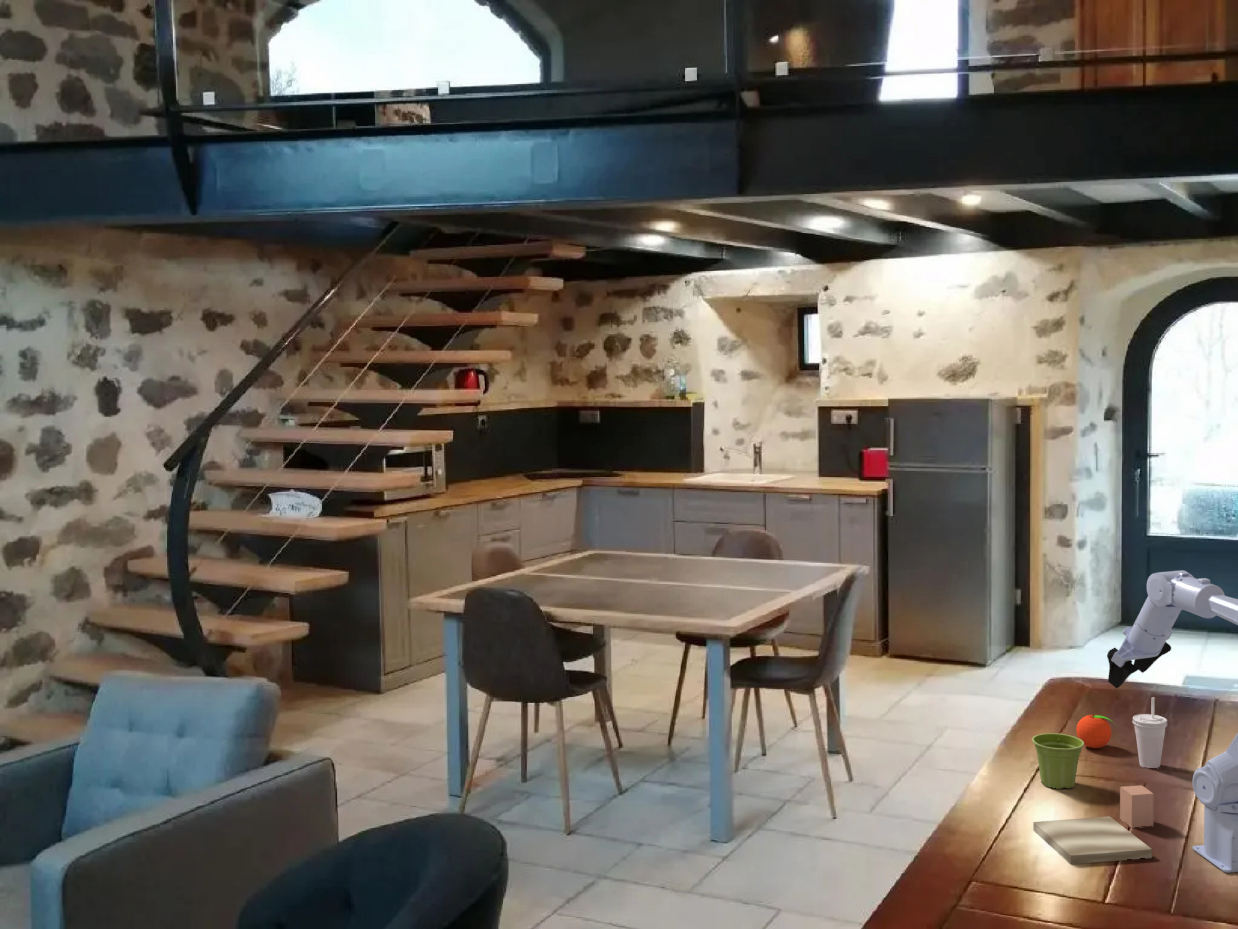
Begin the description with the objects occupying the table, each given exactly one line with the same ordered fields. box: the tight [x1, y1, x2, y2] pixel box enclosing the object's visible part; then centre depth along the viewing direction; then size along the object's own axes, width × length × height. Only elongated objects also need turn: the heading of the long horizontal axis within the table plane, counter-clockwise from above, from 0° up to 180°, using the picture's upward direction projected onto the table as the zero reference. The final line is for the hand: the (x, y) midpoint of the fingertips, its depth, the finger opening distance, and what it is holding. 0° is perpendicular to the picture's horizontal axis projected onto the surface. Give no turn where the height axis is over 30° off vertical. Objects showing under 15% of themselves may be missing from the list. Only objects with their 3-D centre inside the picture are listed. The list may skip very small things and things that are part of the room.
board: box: [1033, 816, 1153, 865], centre depth 200 cm, size 14×14×2 cm
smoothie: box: [1132, 696, 1168, 769], centre depth 235 cm, size 6×6×14 cm
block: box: [1119, 785, 1155, 829], centre depth 208 cm, size 4×4×6 cm
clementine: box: [1075, 714, 1118, 749], centre depth 247 cm, size 8×7×7 cm
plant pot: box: [1031, 732, 1085, 790], centre depth 227 cm, size 9×9×9 cm
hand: (1126, 676), depth 217 cm, fingers open, 7 cm apart
